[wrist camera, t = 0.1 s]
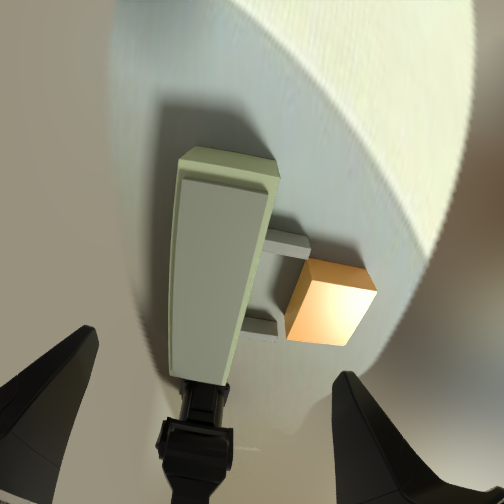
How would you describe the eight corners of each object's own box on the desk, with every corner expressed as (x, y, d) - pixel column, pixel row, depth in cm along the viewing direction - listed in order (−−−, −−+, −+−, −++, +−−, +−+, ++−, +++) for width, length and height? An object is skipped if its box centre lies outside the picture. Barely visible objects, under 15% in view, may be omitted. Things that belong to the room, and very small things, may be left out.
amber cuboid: (337, 321, 28) (344, 345, 25) (284, 313, 28) (286, 339, 25) (365, 267, 25) (377, 291, 22) (306, 255, 24) (312, 280, 21)
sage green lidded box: (262, 358, 31) (262, 395, 27) (177, 344, 30) (168, 379, 26) (327, 173, 20) (346, 197, 16) (195, 145, 19) (175, 161, 15)
